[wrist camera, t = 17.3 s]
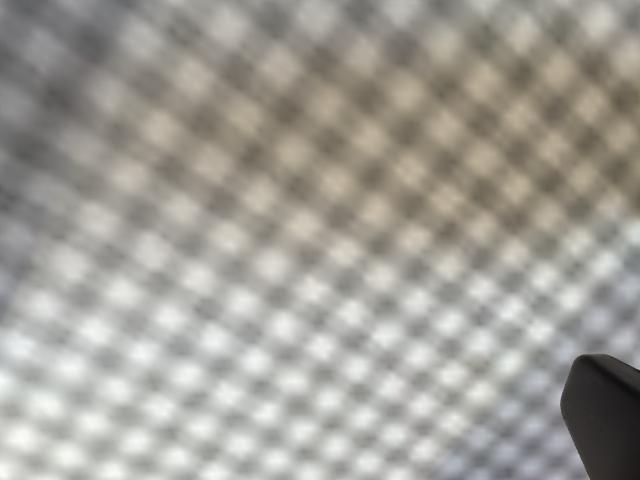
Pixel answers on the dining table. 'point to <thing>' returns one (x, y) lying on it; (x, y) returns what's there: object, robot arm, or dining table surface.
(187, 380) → the dining table surface
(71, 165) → the dining table surface
